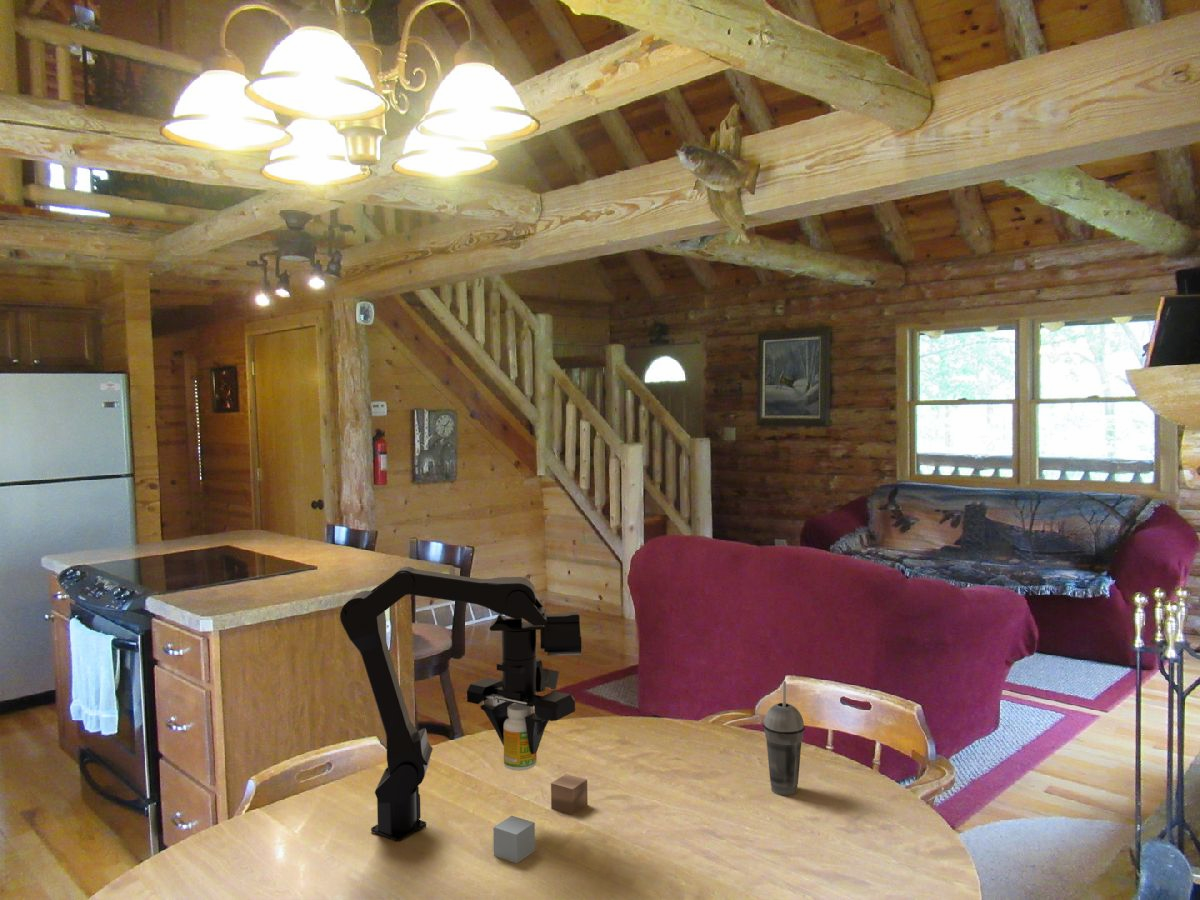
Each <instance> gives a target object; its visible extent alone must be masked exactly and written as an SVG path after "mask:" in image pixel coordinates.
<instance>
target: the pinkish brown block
mask: <svg viewBox="0 0 1200 900" xmlns="http://www.w3.org/2000/svg"><path fill="white" fill-rule="evenodd" d="M588 796H589V795H588V779H587V778H582V777H580V776H579V777H578V776H575V775H572V774H565V773H564V775H562V776H560V777H559V778H557V779H556V780H553V781H552V782H551V783H550V803H551V806H550V808H551V810H554V811H559V812H561V813H564V814H569V815H572V816H573V815H575V814H576V813H578V812H579V811H581V810H582V809H584V808H585V807H587V806H588V804H589V801H588V798H589V797H588Z"/></svg>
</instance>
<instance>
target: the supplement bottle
mask: <svg viewBox="0 0 1200 900" xmlns="http://www.w3.org/2000/svg"><path fill="white" fill-rule="evenodd" d="M532 713H533V707H531V706H526V705H522V704H517V703H514V704H511V705H509V706H508V708H507V714H508V717H509V718H507V719H506V720H505V722H504V727H503V731H504V746H503V765H504V767H505V768H506V769H508V770H511V771H517V772H518V771H519V772H520V771H527V770H530V769H532V768H534V767H535V766H536V765H537V763H538V762H537V761H538V760H537V757H538V756H537V754H538V753H537V752H538V751H537V752H536V753H535V754H531V751H530V748H529V742H528V735H527V729H526V722H525V717H526V716H528V715H530V714H532Z"/></svg>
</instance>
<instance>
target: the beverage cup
mask: <svg viewBox="0 0 1200 900" xmlns="http://www.w3.org/2000/svg"><path fill="white" fill-rule="evenodd" d="M762 726H763V729H764V730H763V731H764V736H765V738H766V747H767V748H766V749H767V760H768V770H769V782H770V788H771V789H770V790H771V792H772V793H773V794H776V795H778V796H783V797H784V796H785V797H786V796H787V797H788V796H789V797H790V796H794V795H796V794H797V793H798V785H799V773H800V765H801V763H800V762H801V751H802V750H801V749H802V742H803V737H804V731H805V729H806V728H805V724H804V719H803V716H802V713H801V712H800V711H799V710H798V709H797V707H795V706H794V705H792V704H790V703H787V682H786V680H783V681H782V702H779V703H776V704H774V705H773V706H771V707H770V708H769V709H767V711H766V714H765V716H764V721H763V725H762Z"/></svg>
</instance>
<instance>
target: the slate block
mask: <svg viewBox="0 0 1200 900" xmlns="http://www.w3.org/2000/svg"><path fill="white" fill-rule="evenodd" d="M535 827H536V823H535V822H534V821H531V820H528V819H524V818H521V817H518V816H515V815H510V816H509V817H507V818H506V819H504V820H503V821H501V822H500V823H498V824H496V825H494V826H493V829H492V830H493V856H494V857H497V858H500V859H503V860H507V861H508V862H512V863H514V864H518V863H520V862H521V861H523V859H525V858H527V857H528V856H529V855H531V854H533V853H534V852H535V851H536V830H535Z"/></svg>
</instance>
